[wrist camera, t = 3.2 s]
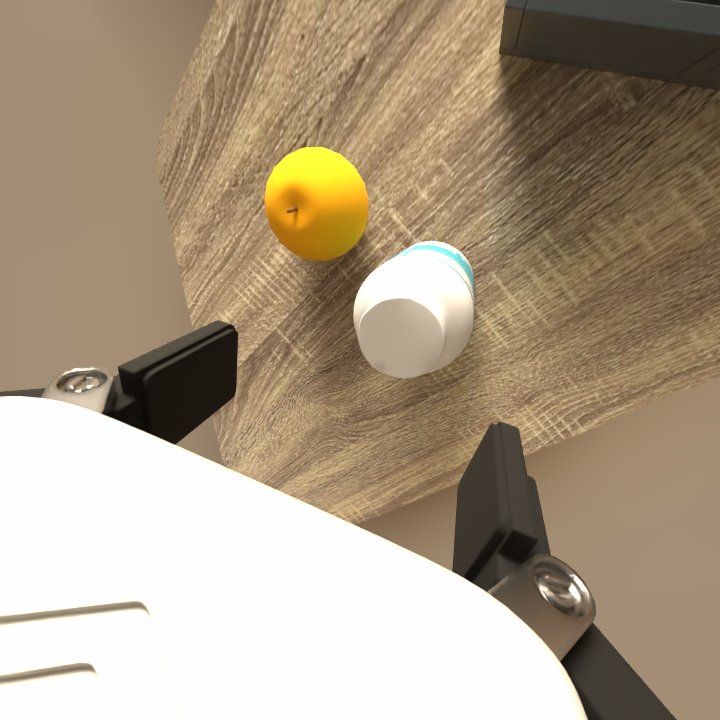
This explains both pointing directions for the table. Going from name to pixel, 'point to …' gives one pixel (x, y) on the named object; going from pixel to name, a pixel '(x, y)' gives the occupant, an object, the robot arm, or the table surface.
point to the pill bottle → (416, 310)
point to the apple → (316, 204)
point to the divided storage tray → (620, 37)
